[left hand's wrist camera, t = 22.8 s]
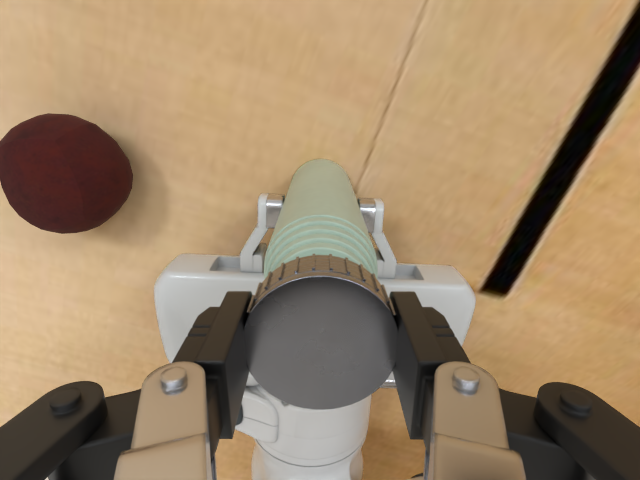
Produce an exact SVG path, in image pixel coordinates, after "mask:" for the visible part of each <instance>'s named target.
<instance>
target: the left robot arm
mask: <svg viewBox="0 0 640 480" xmlns="http://www.w3.org/2000/svg"><path fill="white" fill-rule="evenodd" d="M251 297H252V292H251V291H227V293H226V295H225V297H224V299H223V301H222V303H221V305H220V307H209V308H207V309H206V310H205V311H203V312H202V313H201V314H199V315H198V317H197V318H196V320H195V322H194V324H193V326H192V328H191V329H190V331H189V333H188V336H186V338H185V340H184V342H183V344H182V345H181V347H180V349H179V351H178V353H177V354H176V356H175V358H174V360H173V362H172V363H170V364H167V365H164V366H162V367H160V368H158V369H156V370H155V371H153V372H152V373H151V374H149V375H148V376H147V378H146V379H145V380H144V382H143V384H142V388H141V389H139V390H136V391H132V392H128V393H123V394H119V395H114V396H110V397H105V396H104V392H103V389H102V387H101V386H100V385H99V384H97V383H95V382H90V381H79V382H73V383H69V384H66V385H63V386H60V387H58V388H56V389H54V390H52V391H50V392H48V393H47V394H45V395H44V396H42V397H41V398H39V399H38V400H37V401H35V402H34V403H33V404H31V405H30V406H29V407H27V408H26V409H24V410H23V411H22V412H20V413H19V414H18V415H16V416H15V417H14V418H12V419H11V420H10V421H8V422H7V423H6V424H4V425H3V426H1V427H0V480H45V479H46V478H47V477H48V479H49V480H217V472H216V459H215V452H216V449H217V445H218V442H219V439H232V438H233V434H234V430H235V426H236V422H237V418H238V414H239V410H240V407H241V403H242V399H243V395H244V391H245V387H246V383H247V379H248V375H249V369H248V368H247V364H246V351H245V339H244V325H245V321H246V318H247V315H248V314H246V312H247V309H248V306H249V303H250V300H251ZM389 297H390V299H391V301H392V304H393V307H394V310H395V313H396V317H395V320H396V323H397V326H398V339H397V352H396V364H395V367H394V369H393V371H392V372H393V375H394V379H395V383H396V387H397V391H398V394H399V398H400V402H401V406H402V410H403V413H404V417H405V421H406V425H407V429H408V433H409V436H410V439H423V440H424V443H425V447H426V450H425V458H424V472H423V480H640V427H639V426H637V425H636V424H634V423H633V422H632V421H630V420H629V419H628V418H626V417H625V416H624V415H622V414H621V413H620V412H618V411H617V410H616V409H614V408H613V407H611V406H610V405H609V404H607V403H606V402H605V401H603V400H602V399H601V398H599V397H598V396H596V395H595V394H593V393H591V392H590V391H588V390H586V389H583V388H581V387H578V386H576V385H572V384H568V383H561V382H551V383H547V384H544V385H543V386H541V387H540V389H539V391H538V395H537V398H535V397H531V396H526V395H522V394H517V393H513V392H509V391H505V390H503V389H500V388H498V384H497V382H496V380H495V379H494V378H493V376H492V375H491V374H489V373H488V372H487V371H485V370H484V369H482V368H480V367H478V366H476V365H473V364H471V363H470V361H469V359H468V357H467V355H466V354H465V352H464V350H463V348H462V347H461V345H460V343H459V341H458V340H457V338H456V337H455V334H454V333H453V331H452V329H451V328H450V325H449V324H448V322H447V320H446V318H445V317H444V315H442V314H441V313H440V312H438V311H437V310H436V309H434V308H433V307H422V305H421V303H420V301H419V299H418V297H417V295H416V293H415V292H414V291H391V292H390V295H389Z"/></svg>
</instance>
